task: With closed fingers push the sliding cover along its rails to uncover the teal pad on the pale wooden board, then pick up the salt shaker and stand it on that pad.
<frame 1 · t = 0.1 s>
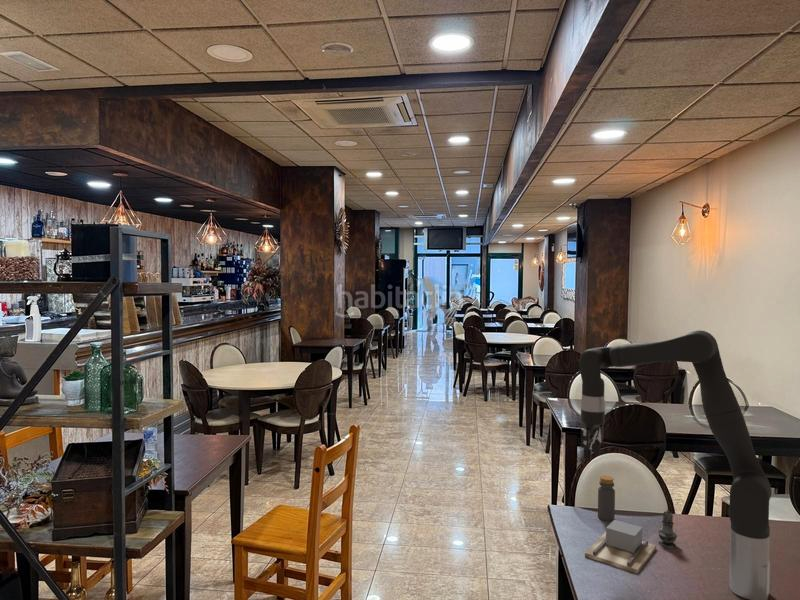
hand: (592, 457, 182), 29 cm above the table, fingers open, 8 cm apart
board: (620, 552, 177), on the table
bottle: (606, 518, 204), on the table
salt shaker: (667, 545, 183), on the table
cover: (624, 536, 179), point 4 cm above the table, slide at 0.0 cm
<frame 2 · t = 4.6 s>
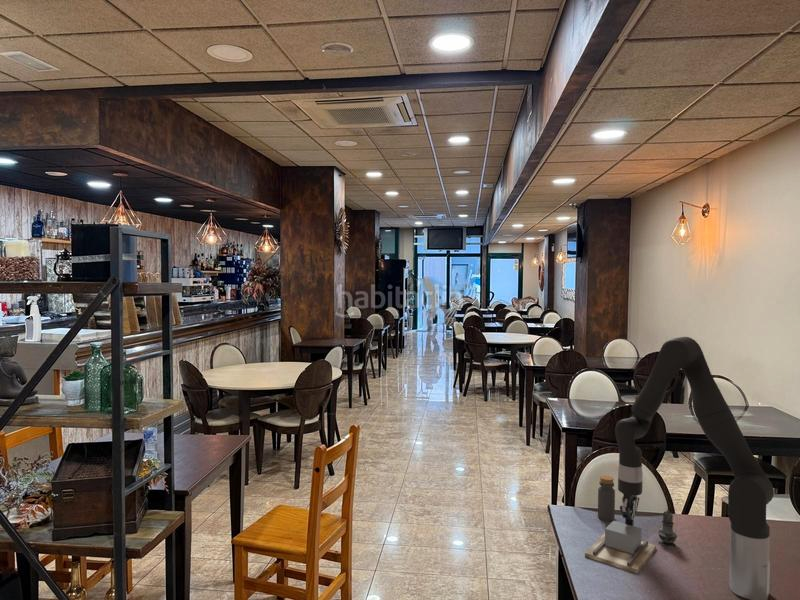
hand: (629, 529, 183), 5 cm above the table, fingers closed
cover: (623, 537, 178), point 4 cm above the table, slide at 1.0 cm, touching gripper
everything else where it was.
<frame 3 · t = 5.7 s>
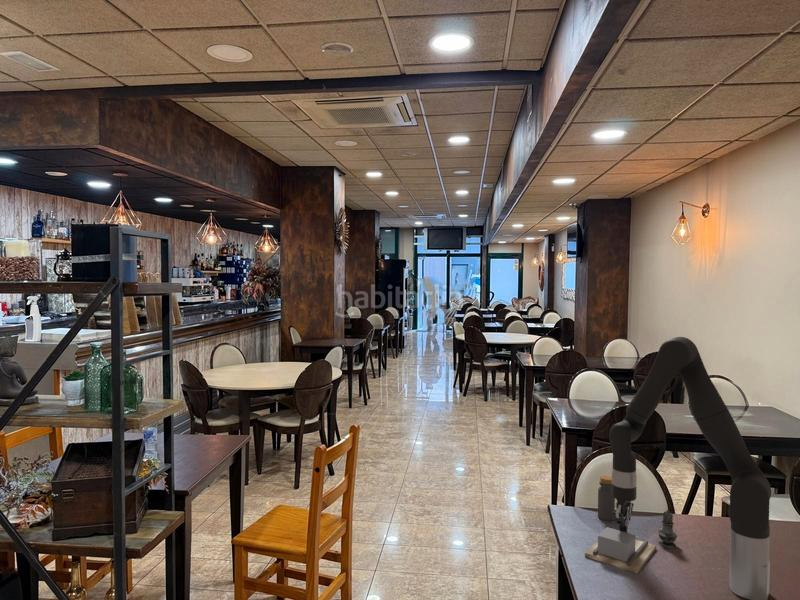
hand: (623, 535, 178), 5 cm above the table, fingers closed
cover: (616, 544, 173), point 4 cm above the table, slide at 7.3 cm, touching gripper
everything else where it was.
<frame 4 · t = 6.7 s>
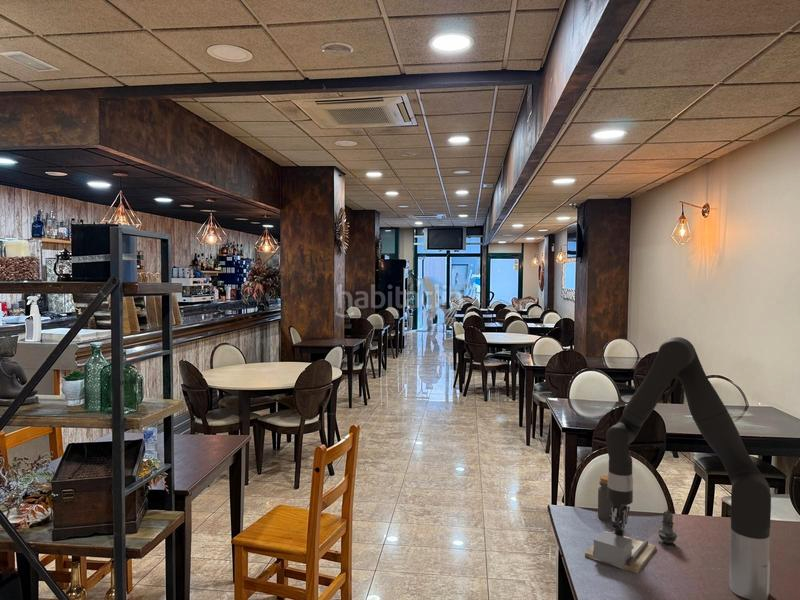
hand: (619, 539, 175), 5 cm above the table, fingers closed
cover: (612, 548, 170), point 4 cm above the table, slide at 11.0 cm, touching gripper
everything else where it was.
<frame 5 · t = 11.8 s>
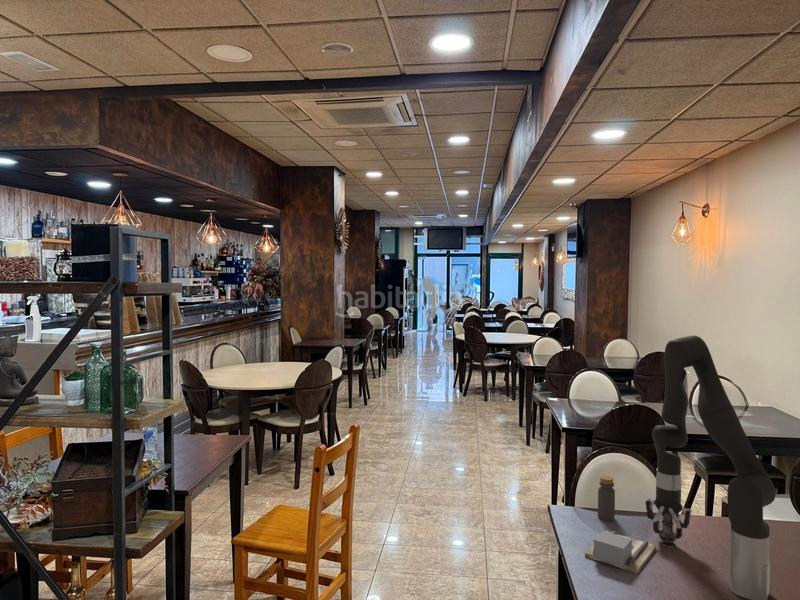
hand: (667, 535, 183), 3 cm above the table, fingers closed on salt shaker, 6 cm apart
salt shaker: (667, 544, 183), on the table, touching gripper
cover: (612, 548, 170), point 4 cm above the table, slide at 11.0 cm
everything else where it was.
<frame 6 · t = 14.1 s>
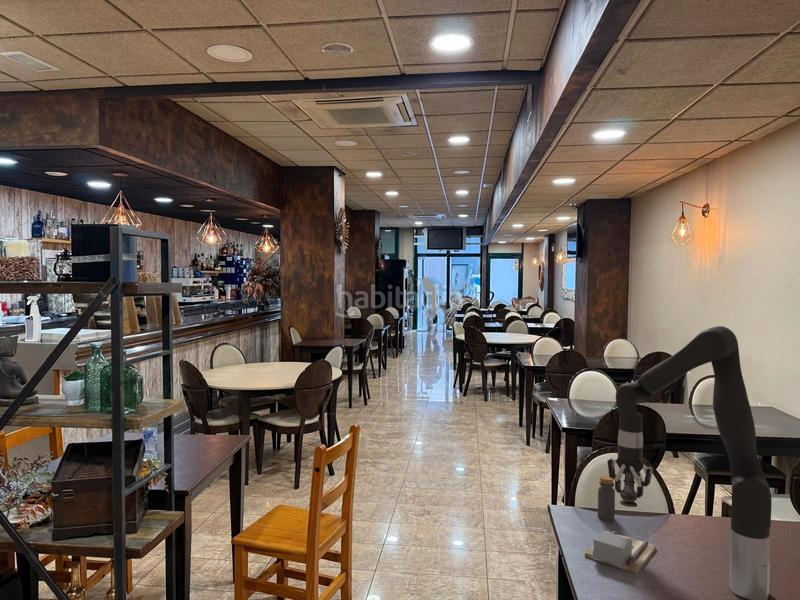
hand: (628, 494, 179), 18 cm above the table, fingers closed on salt shaker, 6 cm apart
salt shaker: (628, 504, 180), point 15 cm above the table, touching gripper
everything else where it was.
when the fingers open (5 cm above the table, at t = 16.7 s): salt shaker stays where it is, resting on board.
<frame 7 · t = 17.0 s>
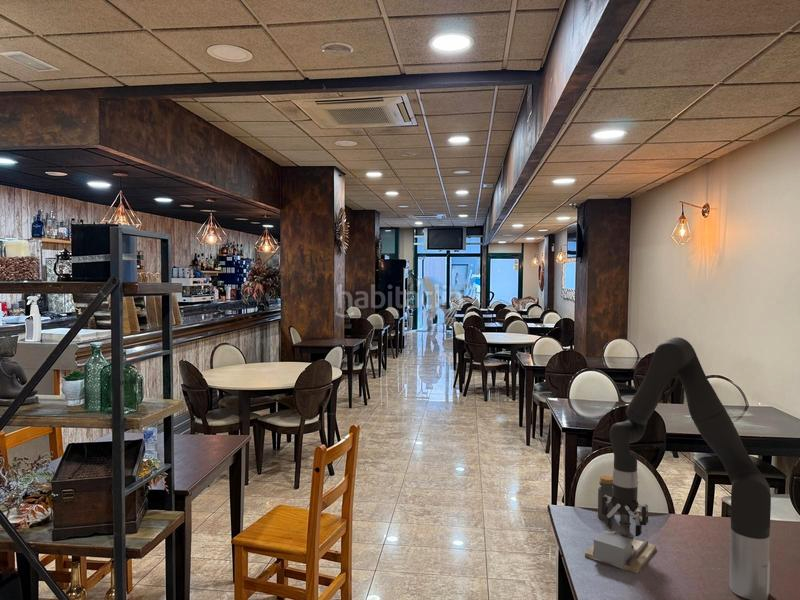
hand: (624, 531, 179), 6 cm above the table, fingers open, 8 cm apart
salt shaker: (624, 546, 179), point 1 cm above the table, touching board
everything else where it was.
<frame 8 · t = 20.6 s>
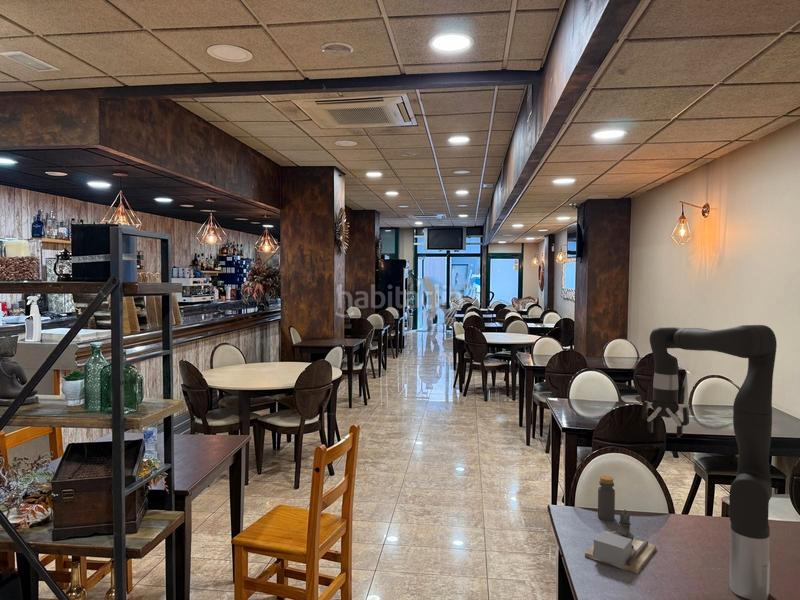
hand: (664, 434, 184), 36 cm above the table, fingers open, 8 cm apart
nothing on the table moved.
at the end: cover slide at 11.0 cm; salt shaker 0.1 cm from the target spot on the board, point 1.0 cm above the board's base; salt shaker tilted 0° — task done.
